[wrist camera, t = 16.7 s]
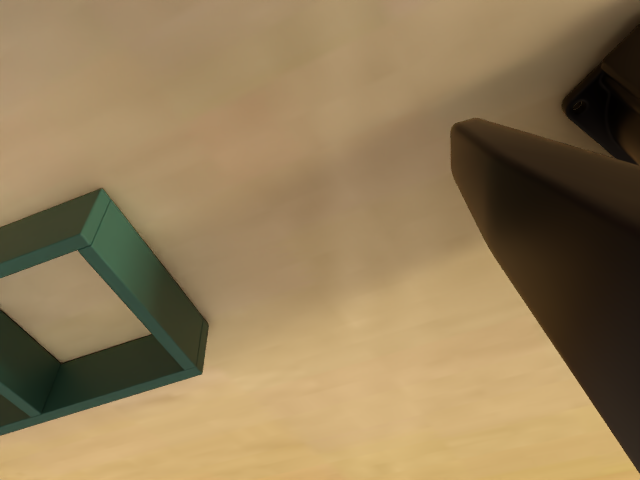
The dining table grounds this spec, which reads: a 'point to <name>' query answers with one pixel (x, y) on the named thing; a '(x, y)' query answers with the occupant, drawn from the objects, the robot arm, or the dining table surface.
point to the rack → (133, 289)
